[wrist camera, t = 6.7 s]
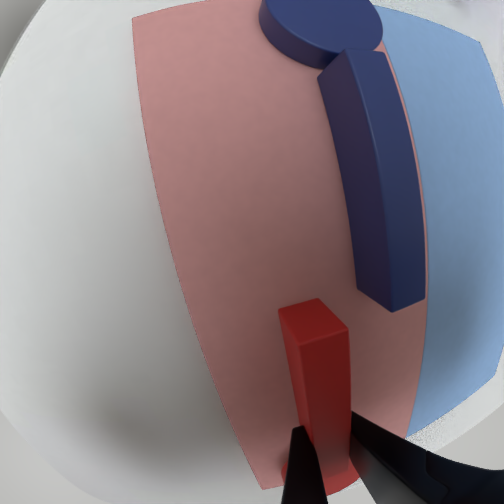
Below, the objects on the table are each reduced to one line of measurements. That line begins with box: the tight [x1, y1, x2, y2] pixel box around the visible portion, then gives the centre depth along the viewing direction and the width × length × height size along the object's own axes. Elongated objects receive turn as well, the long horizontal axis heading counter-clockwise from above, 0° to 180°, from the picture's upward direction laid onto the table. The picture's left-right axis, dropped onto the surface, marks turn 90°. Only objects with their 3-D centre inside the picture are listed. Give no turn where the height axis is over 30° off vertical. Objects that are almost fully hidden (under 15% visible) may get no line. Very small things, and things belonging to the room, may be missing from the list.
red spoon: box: [278, 298, 360, 496], centre depth 8 cm, size 10×4×2 cm, turn 12°
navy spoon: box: [258, 0, 426, 313], centre depth 6 cm, size 10×4×2 cm, turn 12°
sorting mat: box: [132, 0, 504, 490], centre depth 8 cm, size 20×16×1 cm
